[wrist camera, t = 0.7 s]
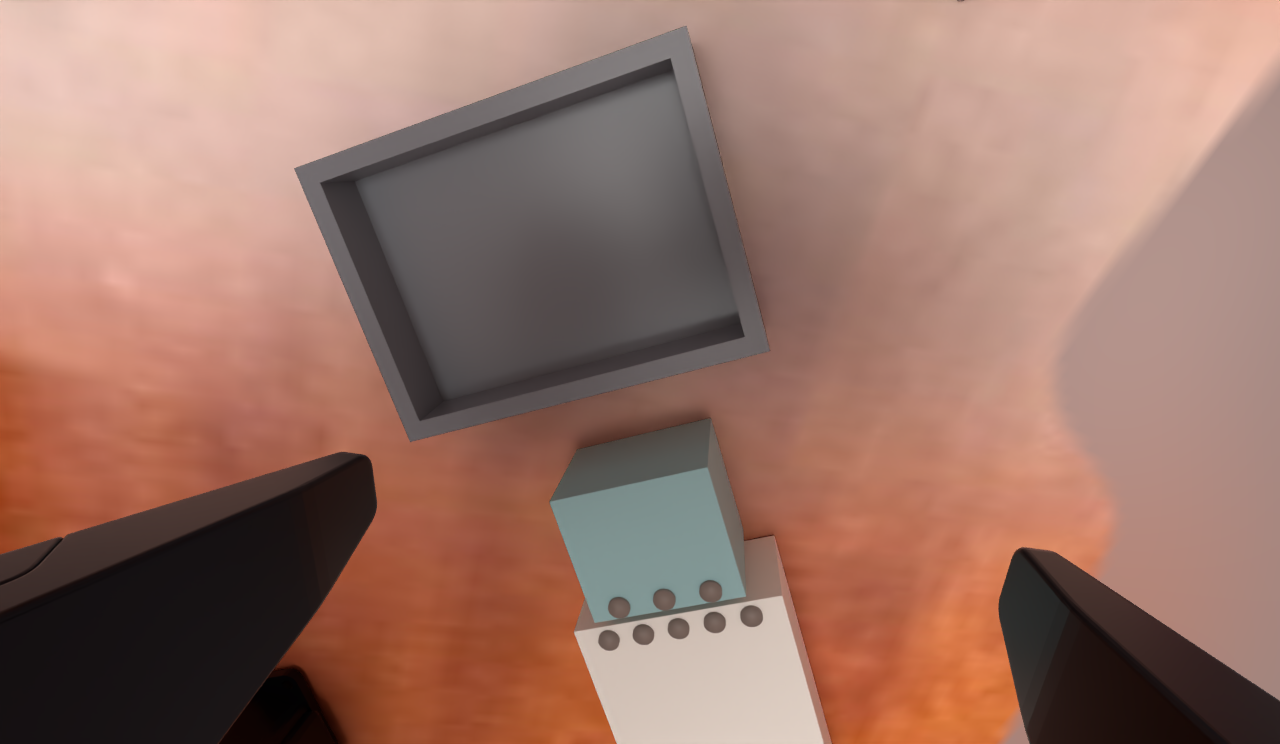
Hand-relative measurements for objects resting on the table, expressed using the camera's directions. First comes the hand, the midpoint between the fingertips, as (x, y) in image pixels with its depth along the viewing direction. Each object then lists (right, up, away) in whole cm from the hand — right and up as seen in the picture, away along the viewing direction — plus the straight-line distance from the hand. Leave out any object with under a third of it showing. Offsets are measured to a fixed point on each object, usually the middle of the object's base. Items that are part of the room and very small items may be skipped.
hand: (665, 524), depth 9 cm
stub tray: (-3, +6, +12) cm, 14 cm away
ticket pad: (+3, -10, +17) cm, 19 cm away
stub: (0, -2, +15) cm, 15 cm away
